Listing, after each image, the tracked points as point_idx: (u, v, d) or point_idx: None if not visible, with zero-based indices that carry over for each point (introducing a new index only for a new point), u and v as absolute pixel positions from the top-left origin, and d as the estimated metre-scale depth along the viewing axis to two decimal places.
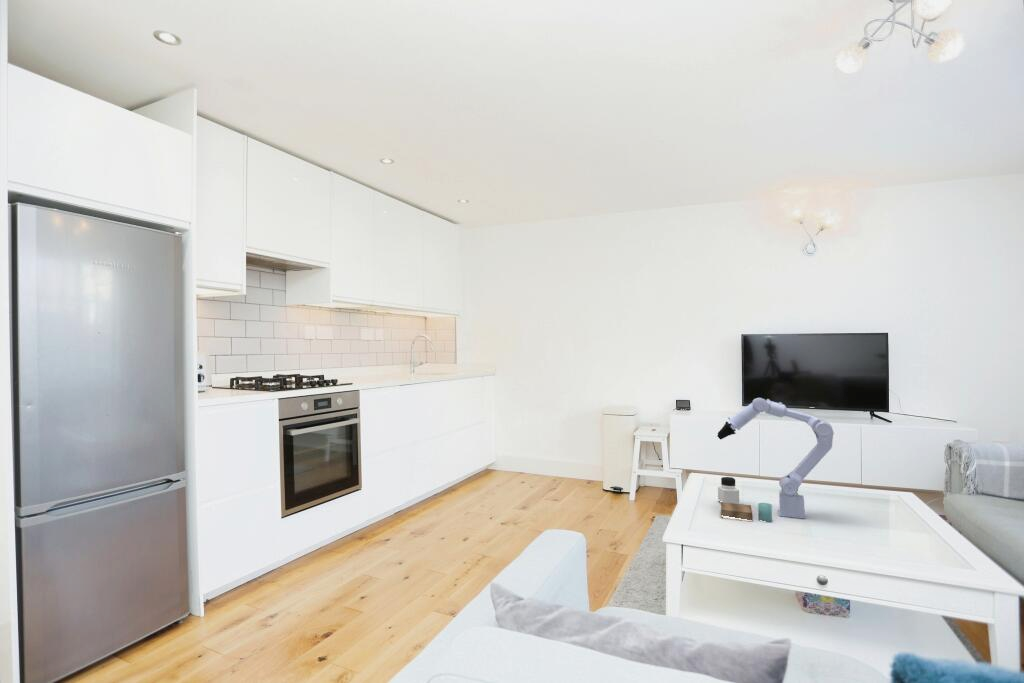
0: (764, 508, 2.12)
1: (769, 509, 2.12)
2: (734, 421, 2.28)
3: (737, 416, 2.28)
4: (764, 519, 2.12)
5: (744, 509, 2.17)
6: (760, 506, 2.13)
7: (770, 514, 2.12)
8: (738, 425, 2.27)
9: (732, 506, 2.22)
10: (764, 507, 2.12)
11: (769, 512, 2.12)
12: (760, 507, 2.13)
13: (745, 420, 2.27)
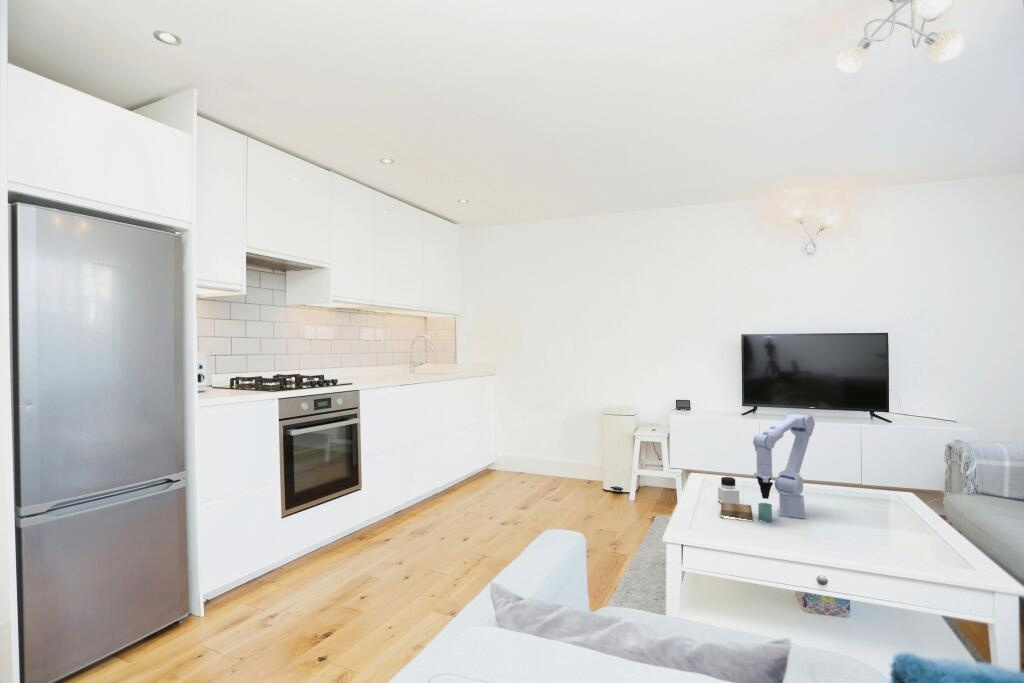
0: (764, 508, 2.12)
1: (769, 509, 2.12)
2: (761, 473, 2.13)
3: (759, 467, 2.14)
4: (764, 519, 2.12)
5: (744, 509, 2.17)
6: (760, 506, 2.13)
7: (770, 514, 2.12)
8: (767, 473, 2.12)
9: (732, 506, 2.22)
10: (764, 507, 2.12)
11: (769, 512, 2.12)
12: (760, 507, 2.13)
13: (768, 464, 2.12)
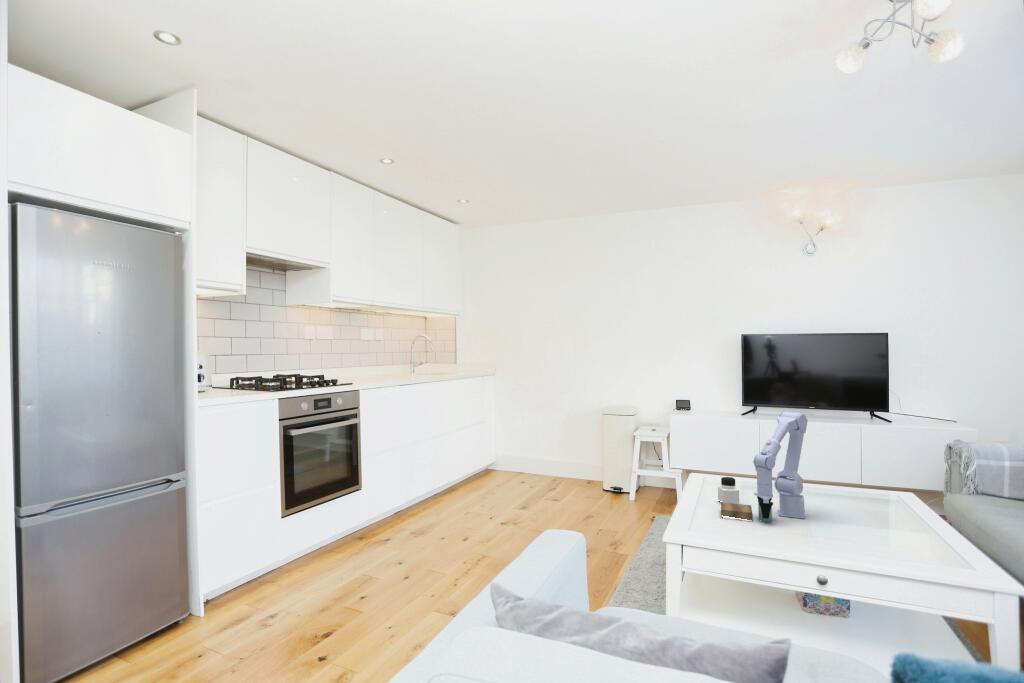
0: None
1: None
2: (761, 493, 2.12)
3: (759, 487, 2.13)
4: (764, 519, 2.12)
5: (744, 509, 2.17)
6: None
7: (770, 514, 2.12)
8: (768, 494, 2.12)
9: (732, 506, 2.22)
10: None
11: None
12: (760, 507, 2.13)
13: (768, 485, 2.12)
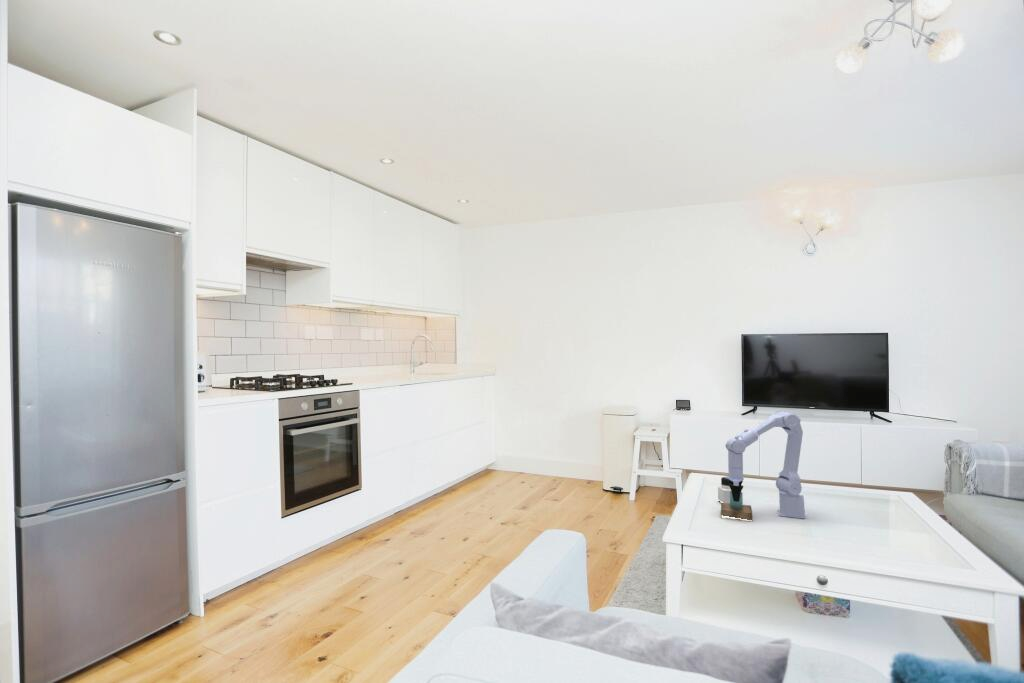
0: None
1: None
2: (732, 476, 2.19)
3: (730, 470, 2.20)
4: (734, 506, 2.18)
5: (744, 509, 2.17)
6: (731, 494, 2.20)
7: (740, 501, 2.18)
8: (738, 477, 2.18)
9: None
10: None
11: None
12: (731, 495, 2.20)
13: (738, 468, 2.18)
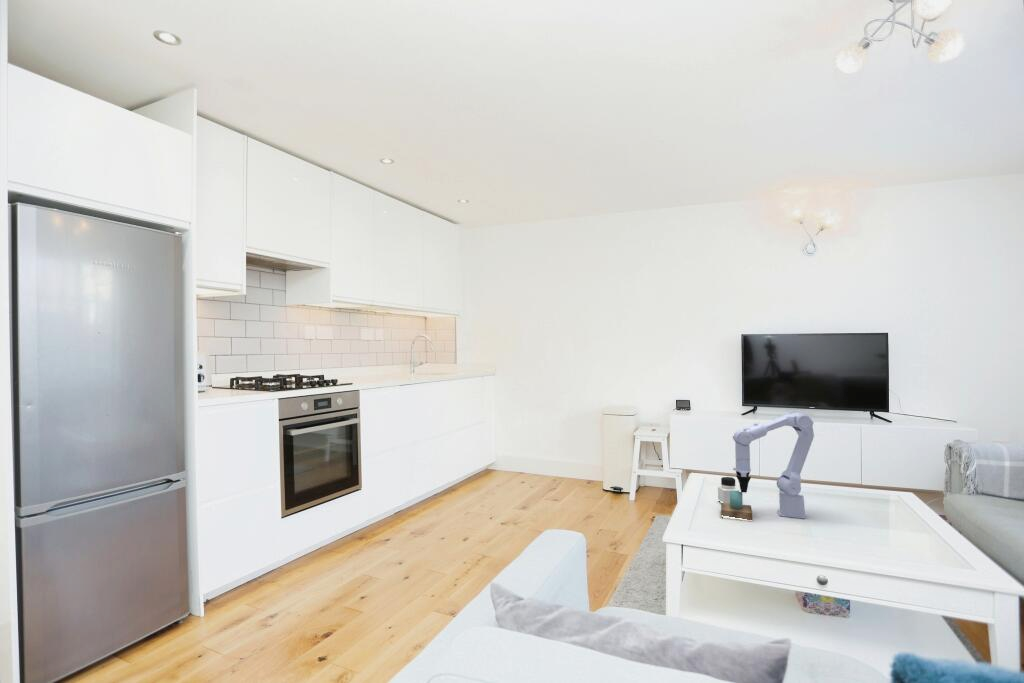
0: (735, 495, 2.18)
1: (739, 497, 2.18)
2: (740, 468, 2.21)
3: (737, 462, 2.22)
4: (734, 506, 2.18)
5: (744, 509, 2.17)
6: (731, 494, 2.20)
7: (740, 502, 2.18)
8: (746, 468, 2.20)
9: None
10: (734, 495, 2.18)
11: (739, 500, 2.18)
12: (731, 495, 2.20)
13: (746, 459, 2.21)
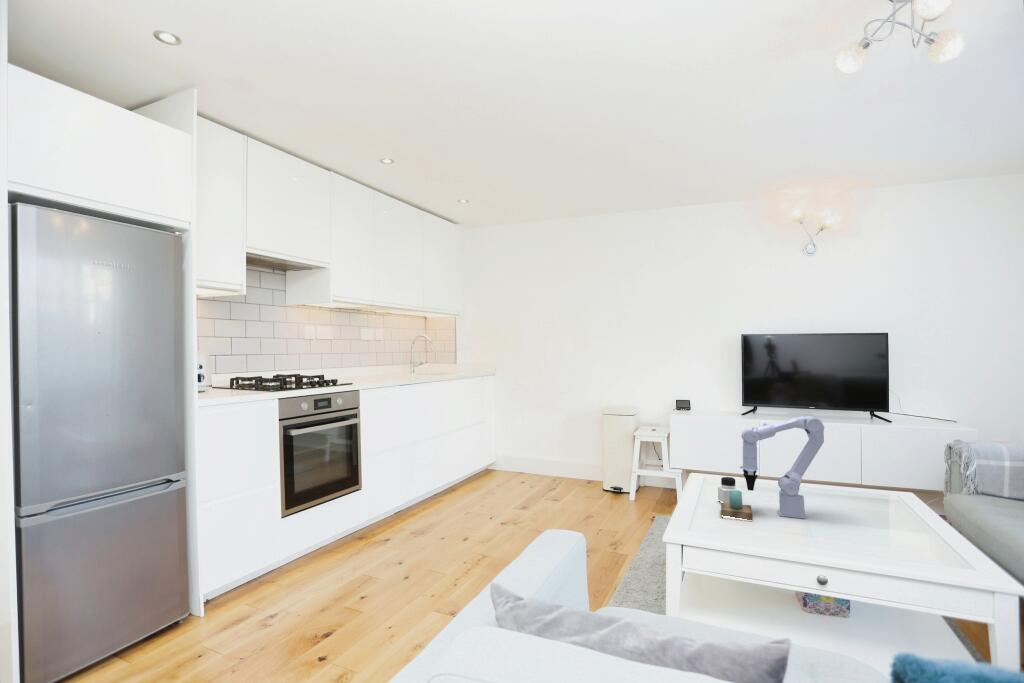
0: (733, 495, 2.18)
1: (738, 497, 2.18)
2: (747, 466, 2.24)
3: (745, 460, 2.25)
4: (734, 506, 2.18)
5: (744, 509, 2.17)
6: (730, 494, 2.20)
7: (739, 501, 2.18)
8: (753, 466, 2.23)
9: None
10: (733, 495, 2.18)
11: (738, 499, 2.18)
12: (730, 495, 2.20)
13: (753, 458, 2.23)
